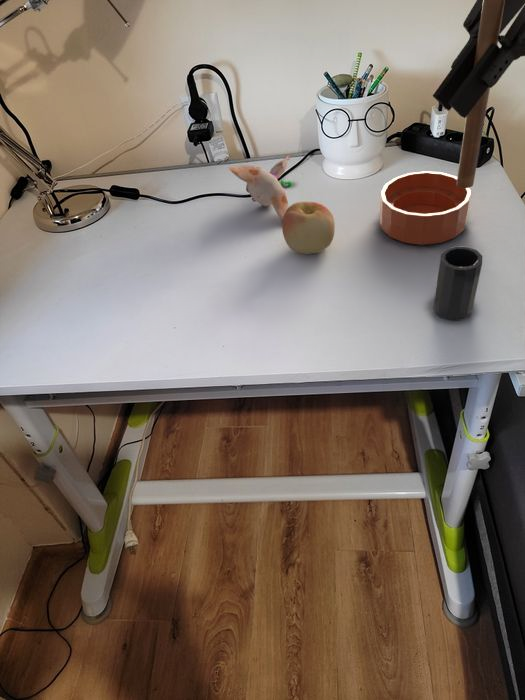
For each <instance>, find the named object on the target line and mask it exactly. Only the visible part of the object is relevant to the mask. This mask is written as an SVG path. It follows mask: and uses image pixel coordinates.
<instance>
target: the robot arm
mask: <svg viewBox="0 0 525 700" xmlns="http://www.w3.org/2000/svg"><path fill="white" fill-rule="evenodd" d="M482 6H483V0H475V3H474V5H473V6H472V7H471V9H470V10H469V13H468V14H467V16H466V18H465V20H464V21H463V24H462V26H463V28H464V29H465V31H466V32H467V33H468V35H469V38H468V41H467V42H466V43H465V45H464V46H463V48H462V49H461V50H460V52H459V53H458V54H457V56H456V58H455V59H454V60H453V62H452V64H451V66H450V70H449V72H448V73H447V75H446V76H445V77H444V79H443V81H442V82H441V83H440V85H439V86H438V87H437V89H436V90H435V92H434V93H433V95H432V97H433V98H434V99H435V100H436V101H437V102H438V104H440V105H441V106H442V107H443V108H444V109H445V110H447V111H451V109H453V110H454V111H455V112H456V113H457V114H458V115H459V116H460V117H462V118H464V119H466V116H467V115H468V114H469V112H470V111H471V110H472V108H473V107H474V106H475V104H476V103H477V102H478V100H479V99H480V98H481V97H482V95H483V94H484V93H485V91H486V90H487V89H488V87H489V88H490V89H492V88H493V87H494V86H495V85H496V84H497V83H498V82H499V80H500V79H501V78H502V77H503V75H504V74H505V73H506V71H507V70H508V69H509V67H510V66H511V64H513V62H514V61H517V60H519V59H520V58H521V57H525V0H505V5H504V10H503V16H502V22H501V28H500V33H499V35H498V37H497V40H498V44H499V45H500V46H499V45H497V44H493V43H492V44H491V45H490V46H489V48H488V49H487V50H486V52H485V53H484V55H483V56H482V57H481V59H480V60H479V61H478V63H477V64H476V65H475V67H474V60H475V54H476V47H477V40H478V33H479V26H480V20H481V13H482ZM516 15H517V16H516ZM514 18H515V19H514ZM513 19H514V20H513ZM512 20H513V22H512V23H511V25H510V27H508V29H507V31H506V32H505V34H504V35H502V33H503V31H504V30H505V29H506V28H507V26H508V25H509V24H510V22H511V21H512ZM473 67H474V68H473Z"/></svg>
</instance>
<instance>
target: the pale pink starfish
mask: <svg viewBox="0 0 525 700" xmlns="http://www.w3.org/2000/svg"><path fill="white" fill-rule="evenodd" d="M291 159H292V158H291V156H290V155H289V154H288V155H286V156H285V157H284V158H283V159H282V160H280V161H278V162H277V163H276V164H274V165H273V167H271V169H270V171H267V170H265V169H264V168H262V167H260V166H255V165H250V164H249V165H248V164H244V165H235V166H232V167H228V170H229V171H230V172H231V173H232V174H233V175H235V177H236V178H238V179H239V180H241V181H243V182H245V183H246V185H245V191H246V192H247V193H248V194H249V195H250V196H251V200H252V201H253V202H256V203H258V204H259V205H261V206H262V207H263V208H265V207H270V206H272V208H273V209H274V211H275V212H276V215H277V216H278V218H280V219H281V221H282V220H283V216H284V214H285V212H286V210H287V209H288V208H289V207H290V206H289V201H288V196H287V193H286V190H285V189H284V188H283V186H285V185H288V186H293V181H292V180H289V181H285V180H280V182H279V180H278V179H280V178H281V176H282V175H283V174H284V173H285V172H286V170H287V168H288V164H289V163H290V161H291Z"/></svg>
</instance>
